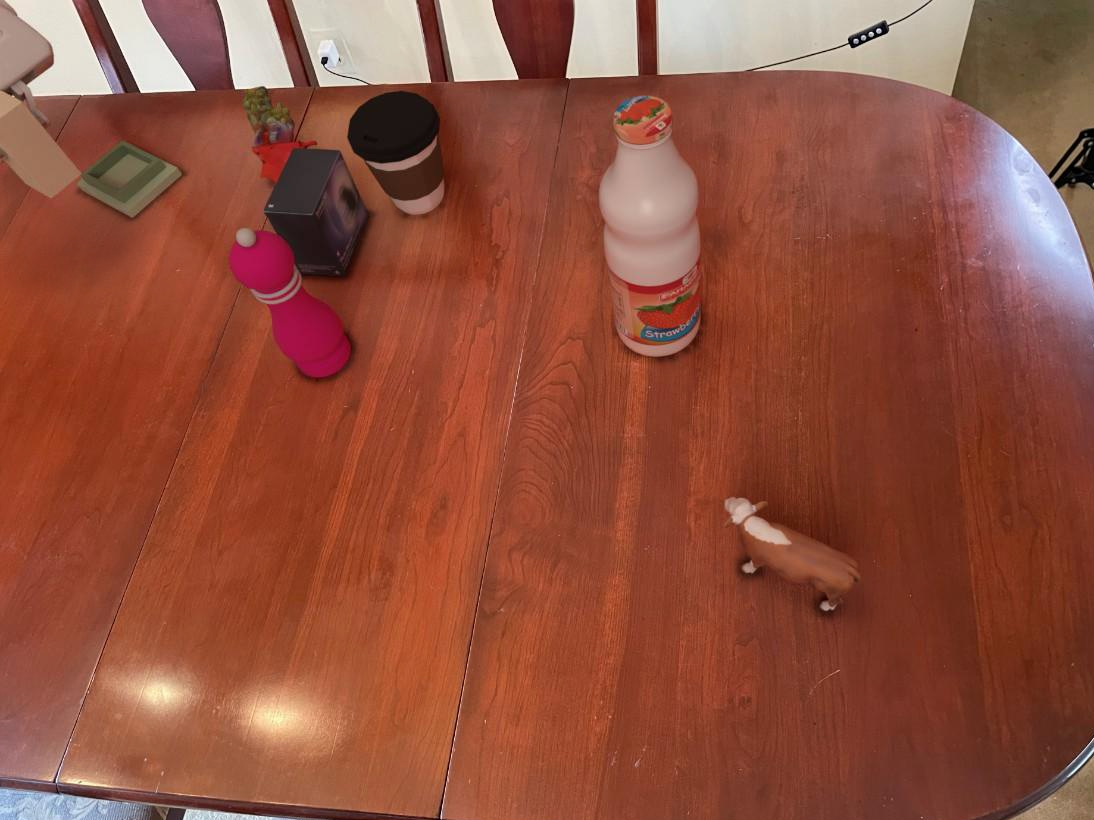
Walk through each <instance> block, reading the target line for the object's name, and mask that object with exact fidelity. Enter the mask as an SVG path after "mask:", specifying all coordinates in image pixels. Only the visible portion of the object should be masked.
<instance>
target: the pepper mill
mask: <svg viewBox="0 0 1094 820" xmlns="http://www.w3.org/2000/svg"><path fill="white" fill-rule="evenodd" d="M235 239H236V240H235V241H234V243H233V244H232V246H231V247H230V250H229V253H228V265H229V269H230V271H231V274H232V275H233V277H234V278H235V279H236V281H237V282H238V283H239V284H240V285H243V287H245V288H247V289H249V290H250V292H251V293H252V295H253V296H254V298H255V299H256V300H257V301H259V302H260V303H261V304H266V307H267V308H268V310H269V312H270V316H271V326H272V327H271V329H272V334H273V338H274V341H275V343H276V345H277V348H279V350H280V352H281V353H282V354H283V355H284V356H285V357H286V358H288V359H289V360H292V361H293V362H294V363H295V365H296V366H297V367H298V369H299V370H300V371H301V373H302V374H304V375H306V376H307V377H312V378H324V377H328V376H331V375H333V374H335V373H337V372H339V371H340V370H341V369H342V368H343V367H344V366H345V365H346V364H347V362H348V361H349V360H350V357H351V352H352V348H351V343H350V341H349V340H348V338H347V336H346V335H345V333H344V327H343V322H342V320H341V318H340V316H339V314H337V312H336V311H335V309H333V308H332V306H331V305H329V304H328V303H326V302H325V301H323V300H321V299H319V298H317V297H315V296H313V295H311V294H310V293H308V291H307V290H306V288H304V286H303V284H302V281H303V279H302V277H303V276H302V274H300V272H299V271H298V270H297V268H296V266H295V264H294V255H293V252H292V250H291V248H290V246H289V245H288V244H287V243H286V241H285V240H284V239H282V238H281V237H280V236H278V235H277V234H276V232H272V231H269V230H264V229H260V230H259V229H257V230H253V229H251V228H249V227H241V228H239V229H238V230H237V231H236V234H235Z"/></svg>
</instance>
